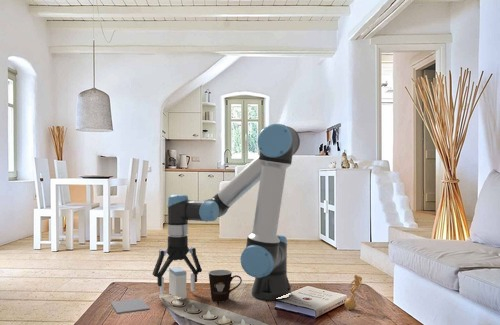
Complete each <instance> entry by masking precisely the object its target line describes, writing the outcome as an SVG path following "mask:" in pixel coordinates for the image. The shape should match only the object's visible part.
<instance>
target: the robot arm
mask: <svg viewBox="0 0 500 325" xmlns="http://www.w3.org/2000/svg"><path fill="white" fill-rule="evenodd" d="M300 145H301V138H300V136H299V133H298V132H297V131H296V130H295V129H294V128H293V127H291V126H288V125H285V124H282V123H271V124H268V125H266V126H265V127H263V128H262V129H261V131H260V133H258V136H257V147H258V150H259V154H258V155H257V156H256V157H255V158H254V159H252V161H250V163H249V164H247V165H246V166H245V167H244V168H243V169H242V170H241V171H240V172H239V173H238V174H236V175H235V176H234V177H233V178H231V180H230V181H228V182H227V183H226V185H225V186H223V187H222V188H221V189H220V190H219V191H217V193H216V194H215V195H214V196H212V197H211V198H210V199H204V200H190V199H189V196H188V195H187V194H170V195H169V196H168V199H167V202H168V203H167V221H168V222H167V234H168V235H167V236H168V237H167V249H163V250H162V249H159V250H158V251H159V252H158V258H157V260H156V263H155V266H154V268H153V271H152V275H153V277H156V278H157V280H156V281H157V286H158V287H159V295H161V294H164V295H165V277H164V274H165V273H166V271H167V269H168V268H170V265H171V263H173V262H175V261H178V260H179V261H184V262H185V263H186V265H187V266H188V268H189V269H190V271H191V273H190V291H191V292H193V293H194V292H195V291H196V290H195V288H196V283H197V282H198V275H199V273H202V271H203V269H202V267H201V264H200V261H199V258H198V255H197V249H196V248H195V247H194V246H191V247H188V246H189V243H188V242H189V239H188V234H189V231H188V229H189V228H188V226H189V225H188V224H189V222H188V221H193V222H195V221H196V222H198V221H199V222H205V223H206V222H207V223H208V222H215V221H216V220H217V219H218V218H221V217H222V216H224V215H226V214H227V213H228V211H229V208H231V207H232V206H233V205H234V204H235V203H236V202H238V200H240V198H242V197H243V196H244V195H245V194H247V193H248V191H250V190H251V189H252V188H253V187H254V186H256V184H257V183H259V184H258V193H257V200H256V207H255V212H254V220H253V226H252V227H253V228H252V232H250V233H249V234H248V235H247V240H246V243H245V244H246V246H245V247H244V249H243V250H242V252H241V255H240V264H241V265H240V266H241V268H242V269H243V271H244V272H245V273H246V274H247V275H248V276H250V277H251V278H255V279H254V281H253V283H252V284H253V285H252V288H251V296H252V297H253V298H256V299H258V300H259V299H260V300H265V301H276V300H275V299H276V298H278V297H281V296H283V295H286V294H288V293H291V294H292V287H291V284H290V282H289V278H288V273H287V272H288V271H287V269H288V268H287V266H288V265H287V264H288V263H287V261H288V260H287V259H288V258H287V257H288V256H287V254H288V253H287V252H288V250H287V248H288V243H287V237H286V236H285V235H281V234H280V235H279V234H278V227H279V222H280V221H279V219H280V213H281V205H282V199H283V194H284V193H283V192H284V187H285V186H284V185H285V179H286V172H287V169H288V168H289V167H290V166H291V165H292V162H293V156H294V155H295V154H296V153H297V152H298V150H299V149H300ZM188 253H190V254H191V257H192V258H191V259H192V261H193V263H194V265H193V263H192V262H191V261H190V259H189V257H188V256H187V254H188ZM166 255H168V256H167V258H166V261H164V257H165V256H166ZM163 261H164V263H163ZM161 266H162V267H161Z"/></svg>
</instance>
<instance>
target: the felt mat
mask: <svg viewBox="0 0 500 325" xmlns="http://www.w3.org/2000/svg"><path fill="white" fill-rule="evenodd" d="M110 305H111V306H112V308H113V310H114V311H115V313H116V314H125V313H133V312H140V311H147V310H150V307H149V306H148V304H147V303H146V302H145V301H144V300H143V299H142V298H134V299H125V300H117V301H110Z"/></svg>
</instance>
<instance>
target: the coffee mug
mask: <svg viewBox="0 0 500 325" xmlns="http://www.w3.org/2000/svg"><path fill="white" fill-rule="evenodd" d="M232 274H233V271H232V270H228V269H214V270H210V271H208V279H209V280H208V281H209V289H210V296H211V297H210V298H211V299H210V300H211V301H213V302H215V301H216V302H217V303H223V302H222V301H224V302H227V301H230V300H229V299H230V293H231V292H232V291H234V290H236V289H238V287H240V286H241V284H242V283H243V282H242V280H243V279H242V277H241V276H240V275H233V276H232ZM235 278H239V280H240V282H239V283H238V284H237V285H236V286H234V287H233V288H231V282H232V281H233V279H235Z"/></svg>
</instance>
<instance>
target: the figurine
mask: <svg viewBox="0 0 500 325" xmlns="http://www.w3.org/2000/svg"><path fill="white" fill-rule="evenodd" d="M353 277H354V279H353V280H352V282H351V283H350V285H349V286H352V287H351V288H350V289H349V291H350V293H351V296H349V297H347V298H346V299H345V301H344V307H345V309H348V310H349V311H353V310H354V309H356V307H357V302H356V300H355V297H356V292H360V289H361V287H362V281H363V278H362V276H359V275H357V274H355V275H354V276H353ZM353 284H354V285H353Z"/></svg>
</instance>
